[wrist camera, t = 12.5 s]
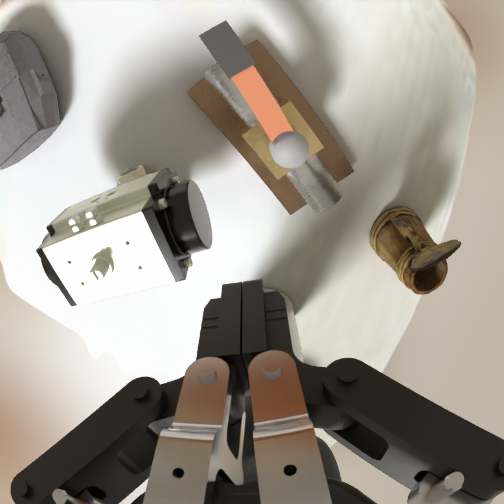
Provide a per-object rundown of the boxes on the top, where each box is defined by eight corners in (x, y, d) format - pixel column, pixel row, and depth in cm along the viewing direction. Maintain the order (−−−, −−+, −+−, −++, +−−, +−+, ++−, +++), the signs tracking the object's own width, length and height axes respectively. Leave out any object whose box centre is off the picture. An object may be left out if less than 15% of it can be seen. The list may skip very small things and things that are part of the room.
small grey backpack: (80, 118, 32) (36, 10, 22) (46, 130, 25) (1, 5, 15) (15, 170, 35) (-24, 73, 25) (-18, 191, 27) (-59, 81, 17)
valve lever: (309, 150, 26) (316, 157, 24) (279, 166, 27) (282, 175, 25) (231, 24, 20) (230, 17, 18) (199, 42, 21) (194, 38, 18)
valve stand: (350, 168, 37) (379, 195, 29) (288, 210, 40) (301, 247, 32) (256, 41, 29) (261, 26, 20) (188, 91, 32) (171, 95, 23)
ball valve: (199, 140, 35) (166, 190, 20) (219, 201, 39) (207, 287, 24) (81, 186, 37) (8, 254, 22) (105, 237, 41) (52, 320, 26)
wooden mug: (402, 169, 37) (483, 230, 22) (424, 241, 44) (485, 315, 28) (349, 198, 40) (410, 276, 24) (379, 267, 46) (427, 351, 30)
